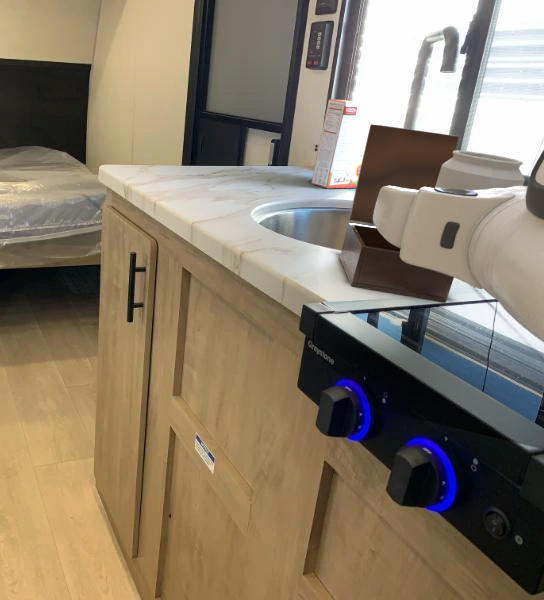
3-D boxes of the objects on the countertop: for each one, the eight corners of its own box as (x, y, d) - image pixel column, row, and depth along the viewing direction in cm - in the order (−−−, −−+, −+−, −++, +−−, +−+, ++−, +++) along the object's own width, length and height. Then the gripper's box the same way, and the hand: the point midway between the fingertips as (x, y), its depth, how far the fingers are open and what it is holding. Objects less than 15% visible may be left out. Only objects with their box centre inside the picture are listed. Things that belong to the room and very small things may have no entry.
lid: (459, 136, 85) (447, 138, 90) (371, 123, 87) (364, 127, 92) (434, 233, 88) (423, 230, 93) (349, 219, 90) (344, 218, 94)
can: (479, 266, 66) (518, 155, 61) (497, 287, 59) (542, 165, 55) (408, 253, 67) (440, 144, 63) (417, 272, 61) (454, 152, 56)
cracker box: (345, 183, 160) (365, 101, 152) (363, 188, 155) (385, 104, 148) (308, 183, 153) (328, 97, 145) (326, 189, 148) (347, 100, 140)
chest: (445, 302, 79) (459, 262, 76) (351, 286, 80) (361, 246, 78) (421, 271, 91) (432, 236, 89) (339, 257, 92) (348, 222, 90)
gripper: (675, 225, 46) (587, 192, 59) (403, 186, 49) (374, 162, 62) (641, 300, 49) (563, 253, 61) (383, 259, 51) (359, 222, 64)
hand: (466, 207), depth 62 cm, fingers closed on can, 7 cm apart
